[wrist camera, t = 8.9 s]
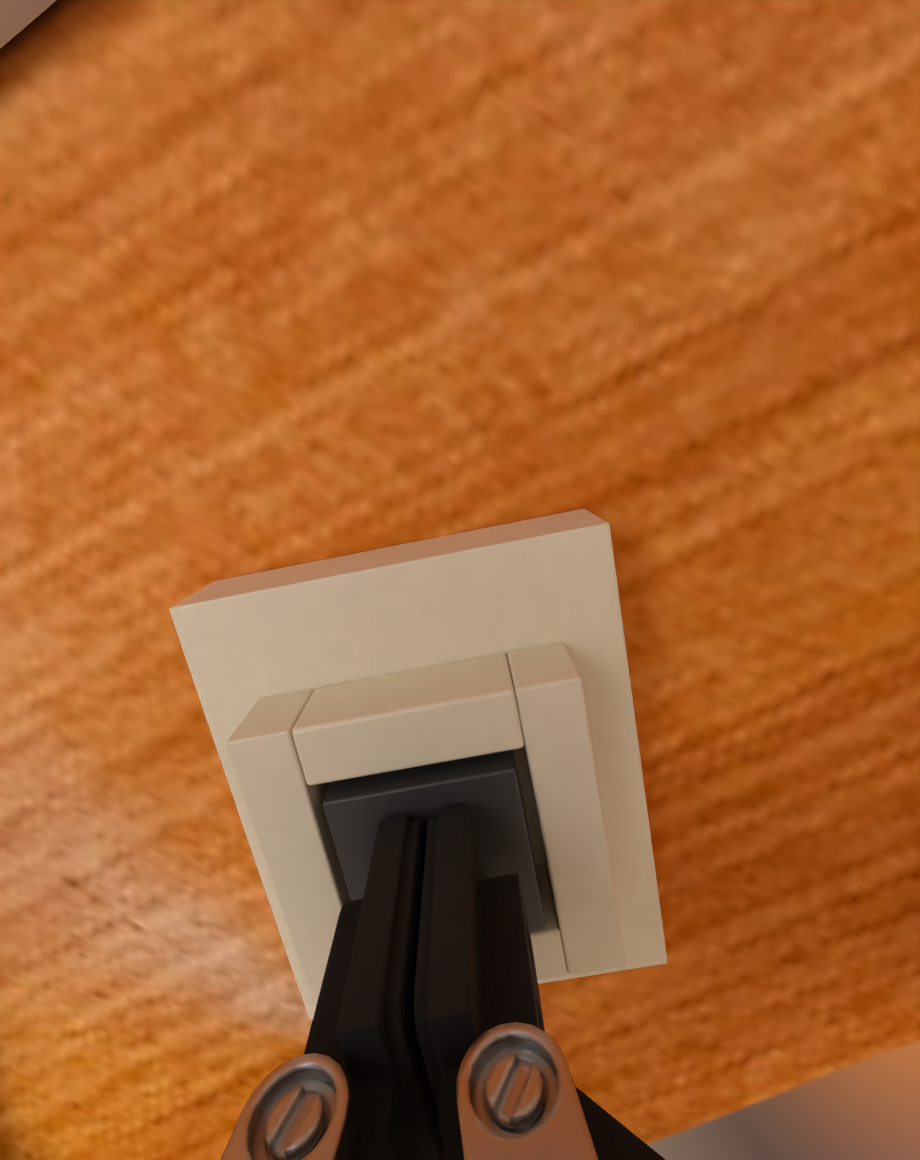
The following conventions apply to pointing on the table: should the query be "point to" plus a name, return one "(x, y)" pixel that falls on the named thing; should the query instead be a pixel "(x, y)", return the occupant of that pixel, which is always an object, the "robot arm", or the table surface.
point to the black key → (421, 795)
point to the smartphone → (18, 16)
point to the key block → (437, 719)
